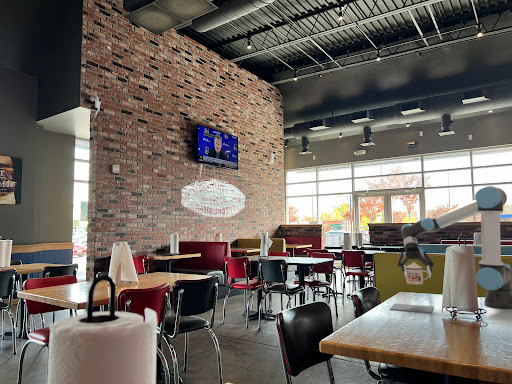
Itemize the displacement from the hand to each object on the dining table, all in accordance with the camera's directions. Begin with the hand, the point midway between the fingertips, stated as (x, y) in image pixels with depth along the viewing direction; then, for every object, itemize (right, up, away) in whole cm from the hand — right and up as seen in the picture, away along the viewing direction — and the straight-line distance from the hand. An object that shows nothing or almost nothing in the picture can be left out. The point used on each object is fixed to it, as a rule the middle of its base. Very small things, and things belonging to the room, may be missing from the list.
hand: (418, 276), depth 212 cm
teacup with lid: (+1, -5, +2) cm, 5 cm away
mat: (-6, -16, -6) cm, 18 cm away
